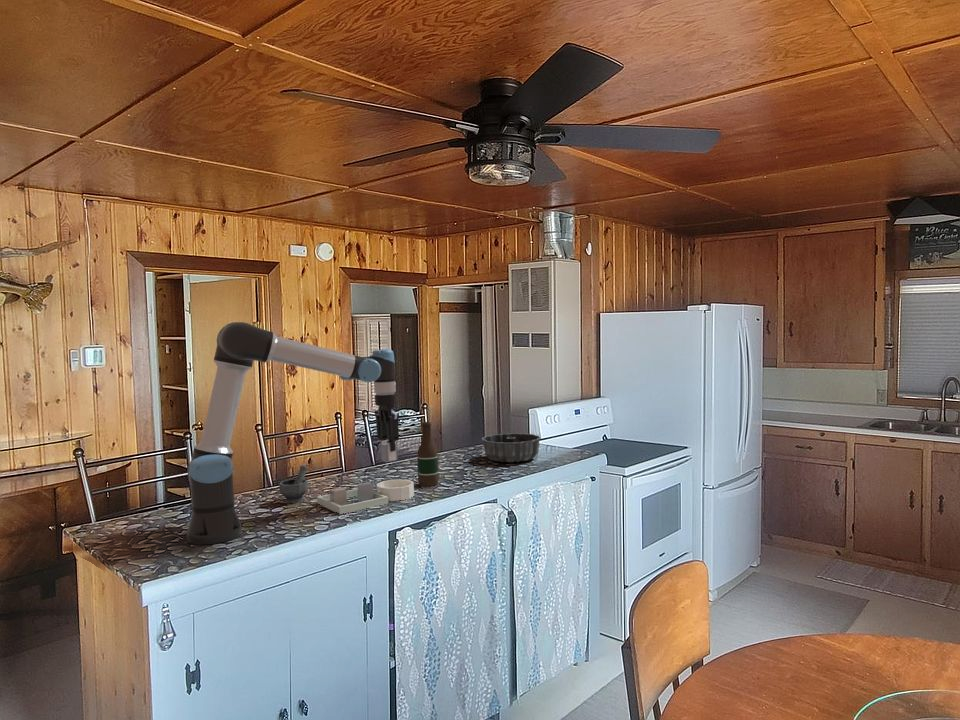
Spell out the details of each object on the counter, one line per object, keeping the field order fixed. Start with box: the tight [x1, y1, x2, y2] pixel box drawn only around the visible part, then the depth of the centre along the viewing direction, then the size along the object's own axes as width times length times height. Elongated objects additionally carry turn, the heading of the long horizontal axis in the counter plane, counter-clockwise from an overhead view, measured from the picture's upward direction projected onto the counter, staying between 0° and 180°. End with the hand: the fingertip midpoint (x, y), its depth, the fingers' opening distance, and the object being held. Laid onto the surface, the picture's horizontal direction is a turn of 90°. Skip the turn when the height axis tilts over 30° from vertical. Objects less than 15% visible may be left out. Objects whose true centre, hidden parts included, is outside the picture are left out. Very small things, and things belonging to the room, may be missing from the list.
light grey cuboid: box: [356, 482, 375, 502], centre depth 228 cm, size 4×3×6 cm
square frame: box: [316, 488, 389, 515], centre depth 225 cm, size 18×18×2 cm
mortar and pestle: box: [278, 464, 309, 504], centre depth 231 cm, size 11×9×12 cm
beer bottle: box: [416, 421, 439, 487], centre depth 249 cm, size 8×8×24 cm
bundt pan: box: [481, 432, 541, 463], centre depth 292 cm, size 26×26×10 cm
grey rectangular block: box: [380, 442, 399, 463], centre depth 230 cm, size 4×3×6 cm
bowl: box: [376, 478, 415, 502], centre depth 233 cm, size 13×13×4 cm
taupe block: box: [329, 486, 348, 506], centre depth 222 cm, size 4×3×6 cm
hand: (389, 459), depth 230 cm, fingers closed on grey rectangular block, 3 cm apart
